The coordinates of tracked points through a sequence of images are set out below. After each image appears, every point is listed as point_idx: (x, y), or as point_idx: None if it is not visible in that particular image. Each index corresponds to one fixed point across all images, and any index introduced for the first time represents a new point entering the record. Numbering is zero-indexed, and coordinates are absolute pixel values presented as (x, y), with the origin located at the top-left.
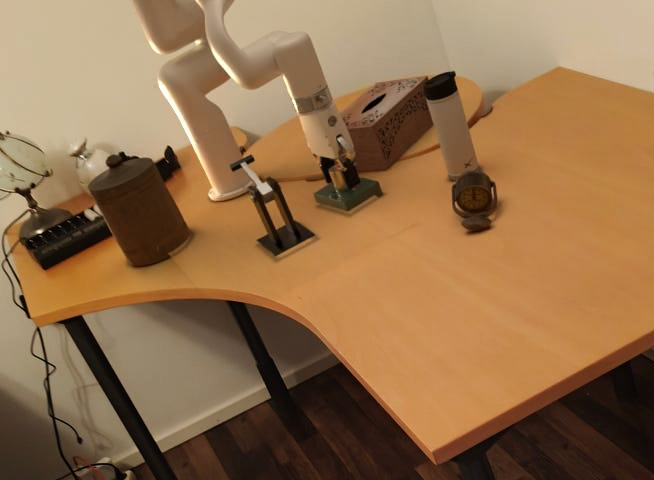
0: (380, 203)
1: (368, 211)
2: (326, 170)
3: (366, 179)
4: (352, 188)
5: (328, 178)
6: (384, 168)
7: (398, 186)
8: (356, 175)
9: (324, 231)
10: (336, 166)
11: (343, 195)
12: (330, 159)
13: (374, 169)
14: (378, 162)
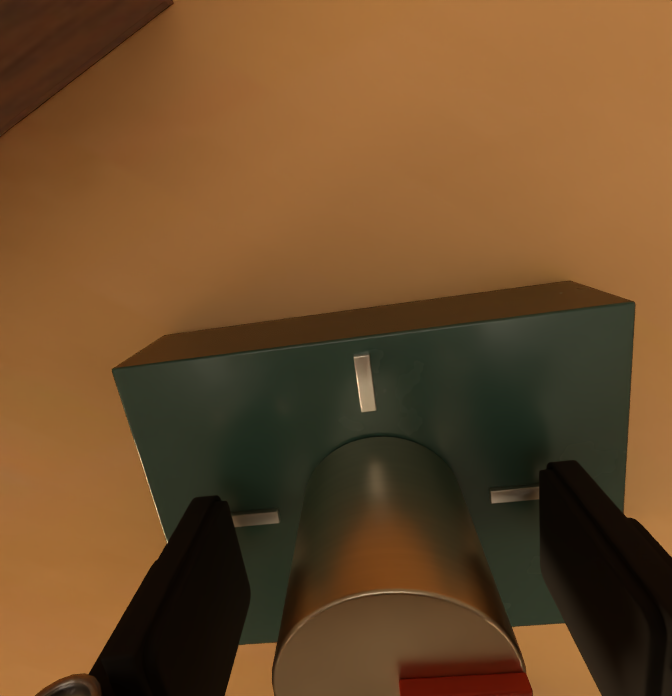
0: (662, 362)
1: (659, 458)
2: (210, 691)
3: (452, 338)
4: (469, 485)
5: (239, 621)
6: (154, 4)
7: (591, 131)
8: (665, 554)
9: (559, 674)
10: (346, 683)
11: (497, 571)
12: (99, 684)
13: (71, 71)
14: (85, 2)
